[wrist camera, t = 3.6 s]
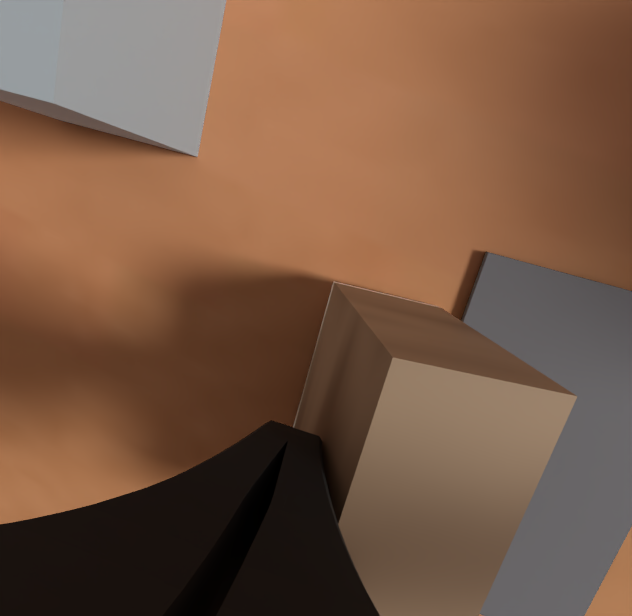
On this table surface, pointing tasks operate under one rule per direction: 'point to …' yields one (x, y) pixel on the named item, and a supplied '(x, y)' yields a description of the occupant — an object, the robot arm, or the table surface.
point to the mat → (565, 431)
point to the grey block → (113, 64)
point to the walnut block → (425, 447)
